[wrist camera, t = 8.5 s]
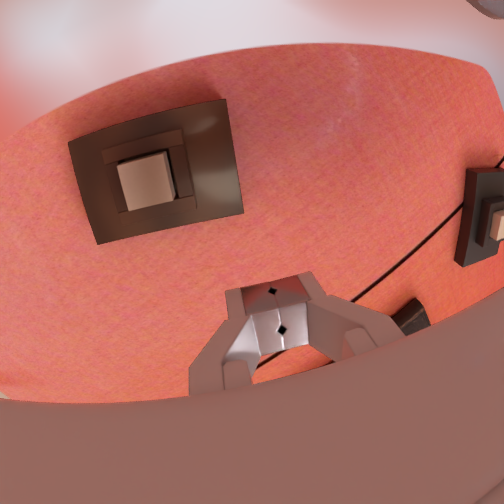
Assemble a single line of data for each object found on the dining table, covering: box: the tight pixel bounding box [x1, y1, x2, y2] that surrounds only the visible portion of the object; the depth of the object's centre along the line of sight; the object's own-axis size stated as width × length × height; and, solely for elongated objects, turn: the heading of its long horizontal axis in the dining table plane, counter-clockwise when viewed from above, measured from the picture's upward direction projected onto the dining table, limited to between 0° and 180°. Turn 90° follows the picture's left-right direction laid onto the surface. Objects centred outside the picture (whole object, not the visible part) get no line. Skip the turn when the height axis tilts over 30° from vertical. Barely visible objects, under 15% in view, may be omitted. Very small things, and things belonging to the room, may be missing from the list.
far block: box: [454, 168, 504, 267], centre depth 30 cm, size 14×10×4 cm
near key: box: [117, 151, 175, 211], centre depth 20 cm, size 4×4×2 cm
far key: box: [489, 210, 504, 241], centre depth 28 cm, size 4×4×2 cm
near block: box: [68, 99, 244, 245], centre depth 22 cm, size 14×10×4 cm
